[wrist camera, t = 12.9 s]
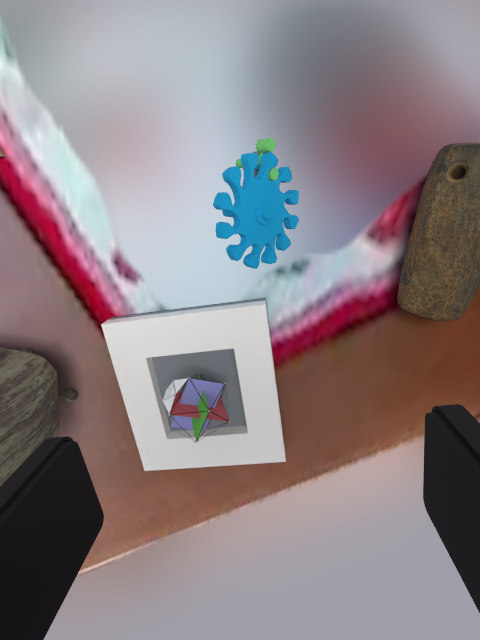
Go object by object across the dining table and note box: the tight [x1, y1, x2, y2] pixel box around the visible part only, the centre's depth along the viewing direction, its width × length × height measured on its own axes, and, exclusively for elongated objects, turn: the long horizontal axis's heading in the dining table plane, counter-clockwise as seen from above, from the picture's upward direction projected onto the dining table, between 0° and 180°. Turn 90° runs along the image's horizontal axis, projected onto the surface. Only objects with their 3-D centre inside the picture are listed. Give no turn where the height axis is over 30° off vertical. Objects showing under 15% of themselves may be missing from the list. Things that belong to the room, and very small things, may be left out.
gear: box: [213, 138, 298, 269], centre depth 31 cm, size 11×6×10 cm
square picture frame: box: [101, 298, 286, 471], centre depth 39 cm, size 18×20×2 cm
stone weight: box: [397, 143, 480, 321], centre depth 30 cm, size 15×7×7 cm, turn 179°
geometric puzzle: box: [162, 373, 230, 443], centre depth 37 cm, size 7×7×8 cm
